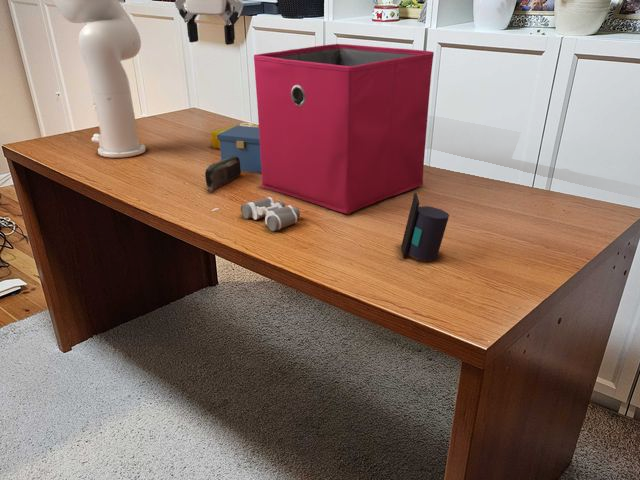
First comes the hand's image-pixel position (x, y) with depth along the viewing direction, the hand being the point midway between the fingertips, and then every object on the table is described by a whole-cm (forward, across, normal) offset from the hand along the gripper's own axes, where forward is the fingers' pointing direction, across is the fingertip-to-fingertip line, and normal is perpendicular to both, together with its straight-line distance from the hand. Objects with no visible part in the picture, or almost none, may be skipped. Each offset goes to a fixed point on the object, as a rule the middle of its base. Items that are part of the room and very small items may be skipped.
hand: (211, 42), depth 140 cm
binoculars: (+28, -31, +33) cm, 53 cm away
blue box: (+28, -9, 0) cm, 29 cm away
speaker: (+28, -63, +39) cm, 79 cm away
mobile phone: (+28, -9, +16) cm, 33 cm away
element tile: (+28, +1, -16) cm, 33 cm away
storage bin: (+28, -36, +8) cm, 46 cm away
